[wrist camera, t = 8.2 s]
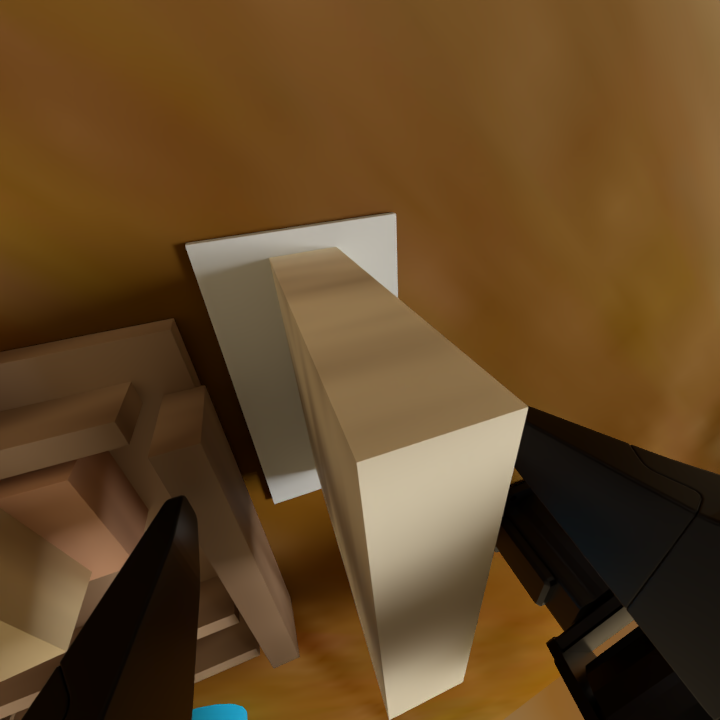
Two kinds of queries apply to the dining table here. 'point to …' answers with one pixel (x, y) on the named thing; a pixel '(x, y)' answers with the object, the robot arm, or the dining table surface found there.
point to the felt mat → (278, 330)
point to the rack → (148, 479)
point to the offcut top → (35, 597)
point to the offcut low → (80, 510)
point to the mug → (220, 712)
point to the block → (400, 465)
